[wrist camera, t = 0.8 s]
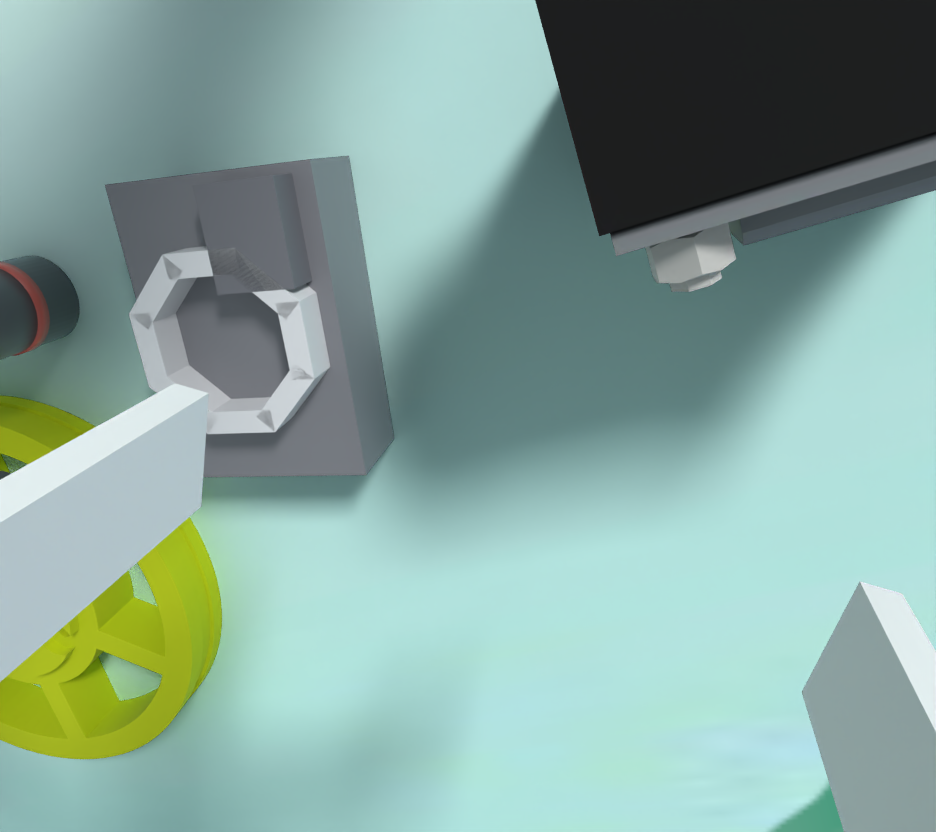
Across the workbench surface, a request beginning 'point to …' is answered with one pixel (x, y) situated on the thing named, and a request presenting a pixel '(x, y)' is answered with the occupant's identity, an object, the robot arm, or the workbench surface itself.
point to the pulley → (109, 631)
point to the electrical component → (742, 117)
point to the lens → (34, 304)
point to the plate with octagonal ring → (260, 313)
